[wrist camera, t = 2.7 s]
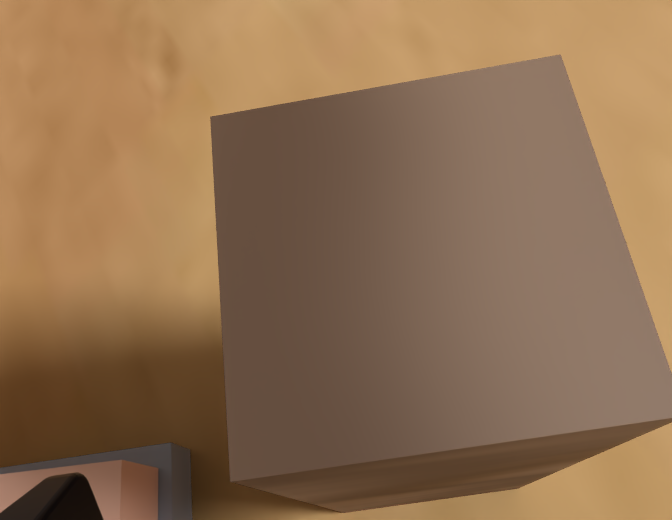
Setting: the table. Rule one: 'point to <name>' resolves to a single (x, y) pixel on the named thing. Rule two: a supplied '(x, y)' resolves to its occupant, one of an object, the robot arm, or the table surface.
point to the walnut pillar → (426, 292)
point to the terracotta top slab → (98, 487)
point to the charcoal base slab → (162, 456)
